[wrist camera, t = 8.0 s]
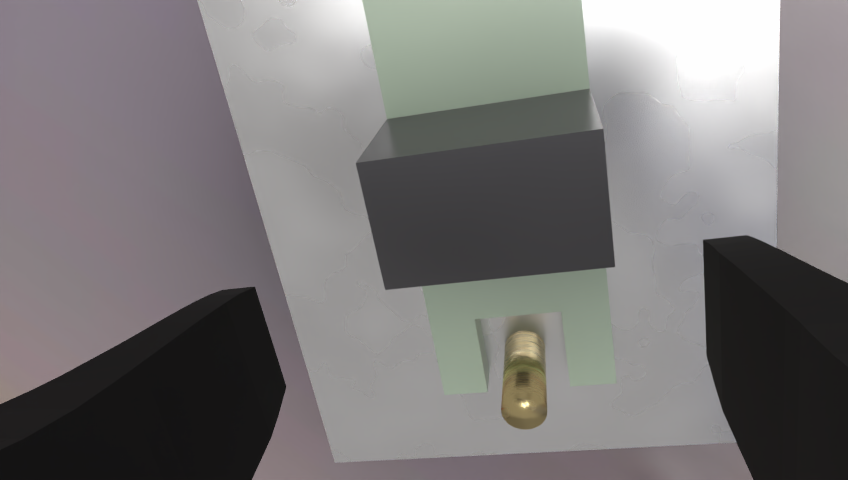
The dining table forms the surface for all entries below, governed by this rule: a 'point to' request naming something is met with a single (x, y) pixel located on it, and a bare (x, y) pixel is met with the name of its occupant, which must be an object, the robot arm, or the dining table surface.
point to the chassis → (524, 334)
